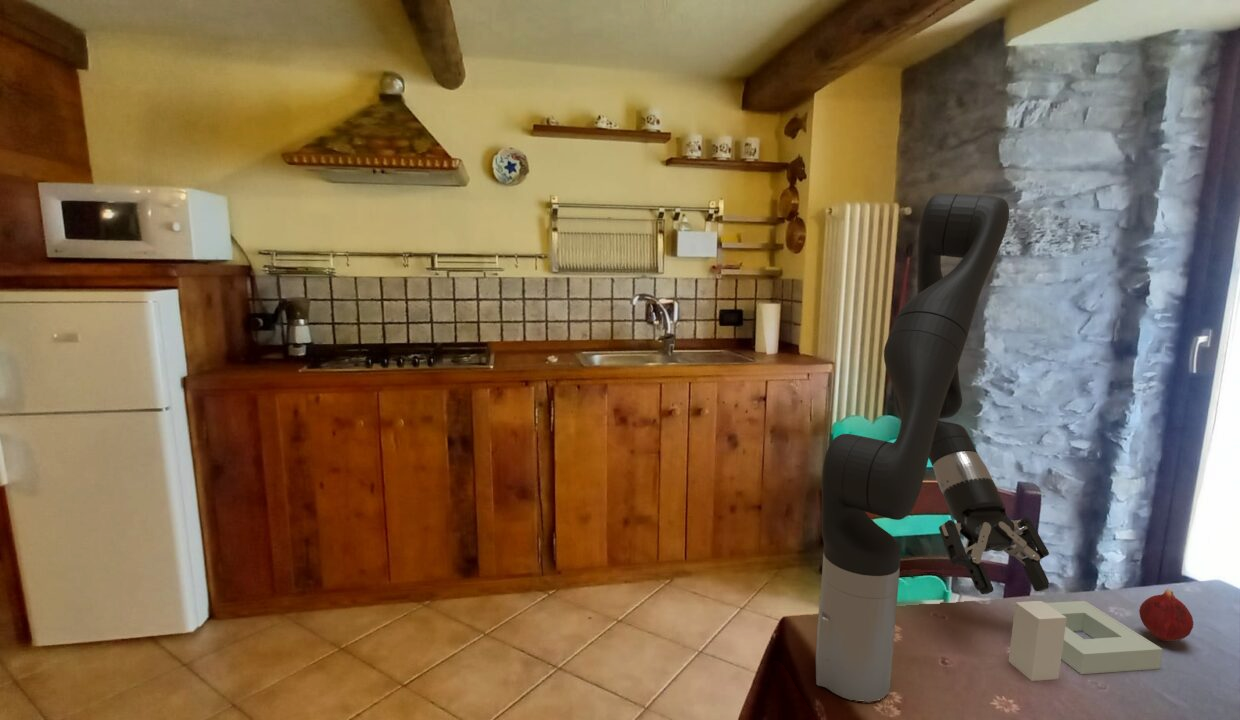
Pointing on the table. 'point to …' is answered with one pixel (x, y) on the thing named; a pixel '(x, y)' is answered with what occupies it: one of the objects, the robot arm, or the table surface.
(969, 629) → the table surface
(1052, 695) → the table surface
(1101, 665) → the socket
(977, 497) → the robot arm
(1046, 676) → the plug
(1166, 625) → the onion
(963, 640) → the table surface
